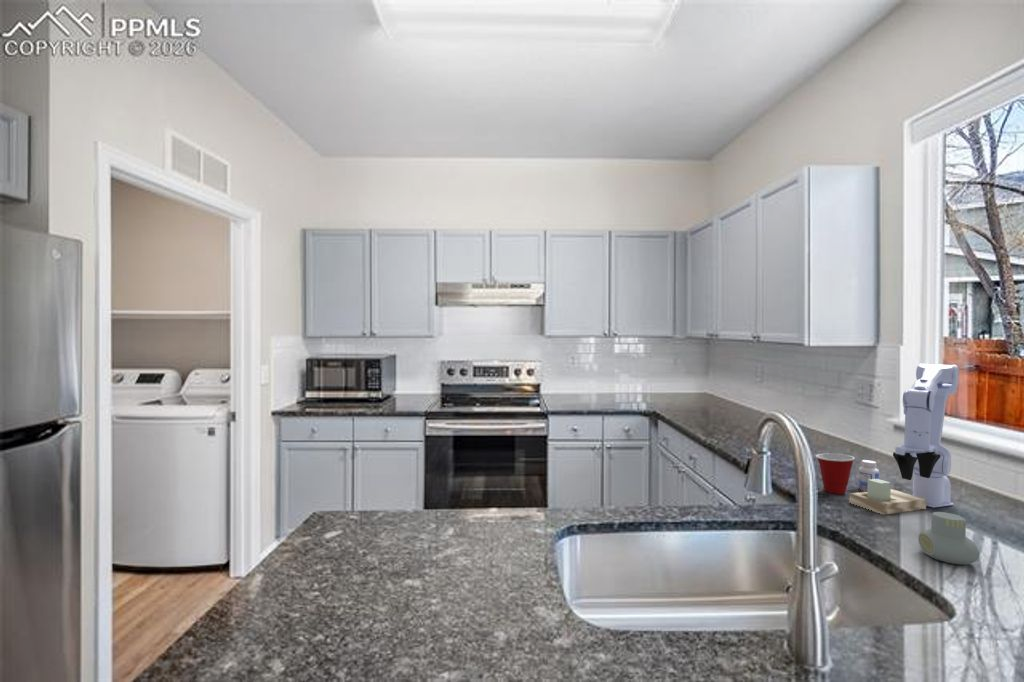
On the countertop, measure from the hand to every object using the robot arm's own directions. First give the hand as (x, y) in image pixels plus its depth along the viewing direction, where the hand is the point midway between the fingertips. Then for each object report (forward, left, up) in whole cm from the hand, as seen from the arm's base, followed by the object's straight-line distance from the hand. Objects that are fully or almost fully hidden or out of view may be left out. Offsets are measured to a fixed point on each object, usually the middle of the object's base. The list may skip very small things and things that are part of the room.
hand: (915, 478), depth 143 cm
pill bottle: (-9, -20, -11) cm, 24 cm away
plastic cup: (+4, -22, -11) cm, 25 cm away
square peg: (+5, -7, -10) cm, 13 cm away
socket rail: (+1, -7, -10) cm, 13 cm away
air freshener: (+25, +23, -11) cm, 36 cm away
